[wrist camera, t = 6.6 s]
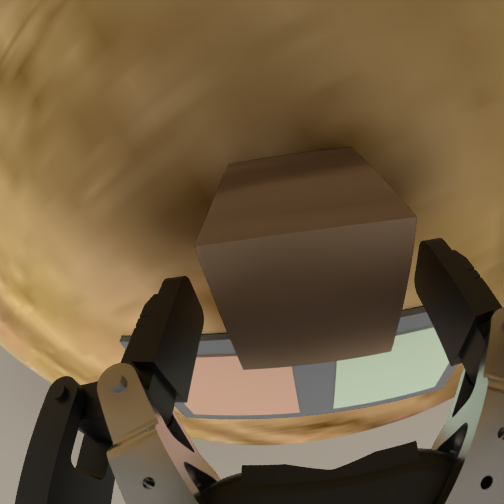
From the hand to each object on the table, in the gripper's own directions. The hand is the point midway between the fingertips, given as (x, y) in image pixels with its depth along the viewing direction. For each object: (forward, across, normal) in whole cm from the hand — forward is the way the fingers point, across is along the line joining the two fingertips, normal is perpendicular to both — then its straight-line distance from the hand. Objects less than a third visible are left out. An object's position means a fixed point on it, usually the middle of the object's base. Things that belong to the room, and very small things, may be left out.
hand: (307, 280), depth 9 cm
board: (+4, 0, +13) cm, 14 cm away
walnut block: (+4, 0, -1) cm, 4 cm away
